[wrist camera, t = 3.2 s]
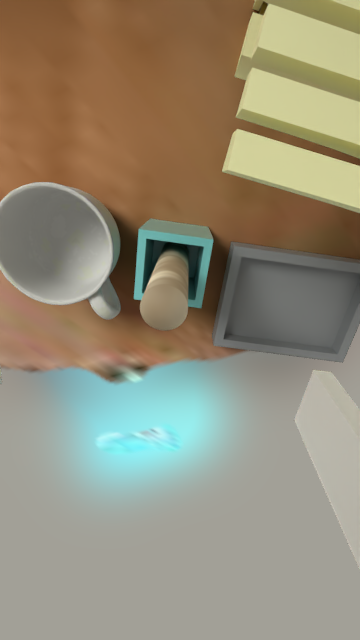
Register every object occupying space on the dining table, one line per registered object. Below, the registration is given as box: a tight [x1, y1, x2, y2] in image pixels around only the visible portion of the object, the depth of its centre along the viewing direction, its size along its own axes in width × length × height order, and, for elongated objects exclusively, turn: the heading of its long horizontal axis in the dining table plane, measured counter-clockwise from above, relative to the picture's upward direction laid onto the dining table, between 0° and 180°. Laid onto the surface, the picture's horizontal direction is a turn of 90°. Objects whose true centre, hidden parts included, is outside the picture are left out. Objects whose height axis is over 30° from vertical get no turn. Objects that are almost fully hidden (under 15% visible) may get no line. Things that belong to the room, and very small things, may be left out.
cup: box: [134, 219, 213, 308], centre depth 30 cm, size 6×6×8 cm
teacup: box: [0, 182, 121, 320], centre depth 30 cm, size 14×11×8 cm
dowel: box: [140, 242, 189, 330], centre depth 26 cm, size 3×3×16 cm
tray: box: [212, 241, 360, 362], centre depth 35 cm, size 16×12×3 cm
